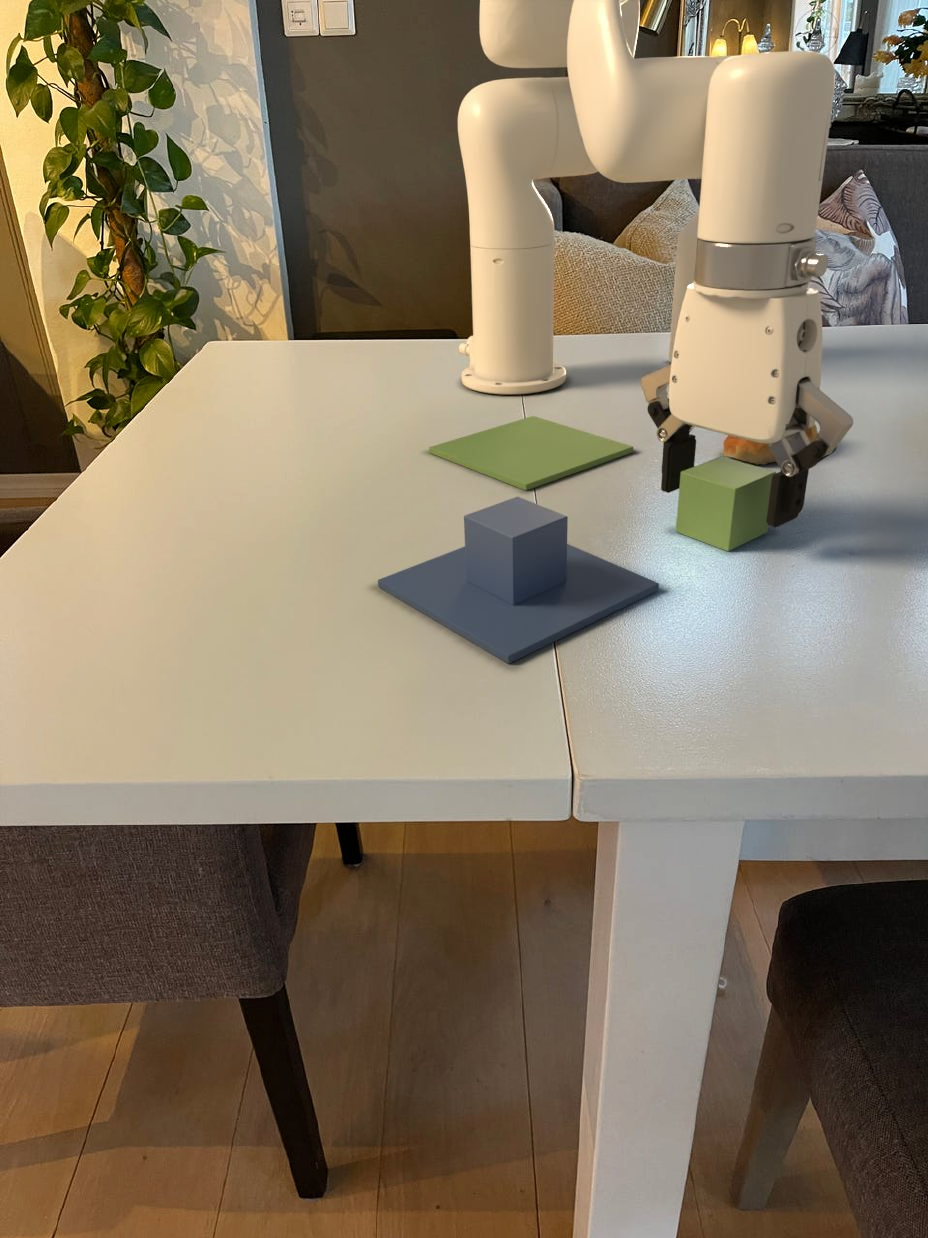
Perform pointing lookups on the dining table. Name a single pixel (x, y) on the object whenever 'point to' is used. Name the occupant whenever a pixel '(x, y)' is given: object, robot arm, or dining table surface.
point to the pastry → (755, 448)
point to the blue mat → (528, 623)
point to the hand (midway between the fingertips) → (727, 503)
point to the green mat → (530, 452)
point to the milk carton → (683, 272)
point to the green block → (724, 502)
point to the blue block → (516, 549)
